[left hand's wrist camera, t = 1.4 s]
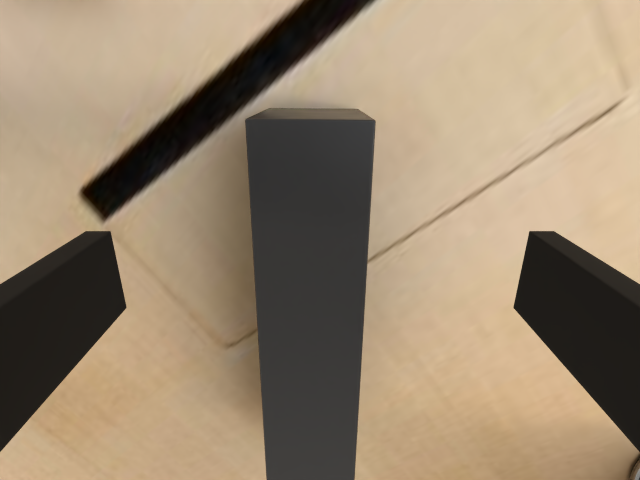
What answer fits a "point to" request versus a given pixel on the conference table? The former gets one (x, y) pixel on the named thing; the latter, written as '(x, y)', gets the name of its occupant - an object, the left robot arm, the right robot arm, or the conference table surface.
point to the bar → (310, 283)
